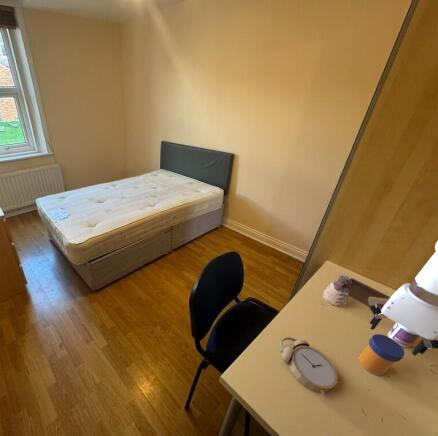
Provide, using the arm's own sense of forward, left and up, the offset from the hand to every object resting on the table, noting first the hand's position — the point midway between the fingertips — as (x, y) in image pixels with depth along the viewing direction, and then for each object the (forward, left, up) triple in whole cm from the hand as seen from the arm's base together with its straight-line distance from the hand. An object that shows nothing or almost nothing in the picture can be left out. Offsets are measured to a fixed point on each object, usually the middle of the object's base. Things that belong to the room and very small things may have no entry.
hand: (393, 338), depth 62 cm
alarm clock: (+11, +17, -13) cm, 24 cm away
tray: (+11, -30, -13) cm, 35 cm away
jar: (0, 0, -13) cm, 13 cm away
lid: (0, 0, -3) cm, 3 cm away
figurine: (+17, -18, -13) cm, 28 cm away
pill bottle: (-2, -17, -13) cm, 22 cm away
